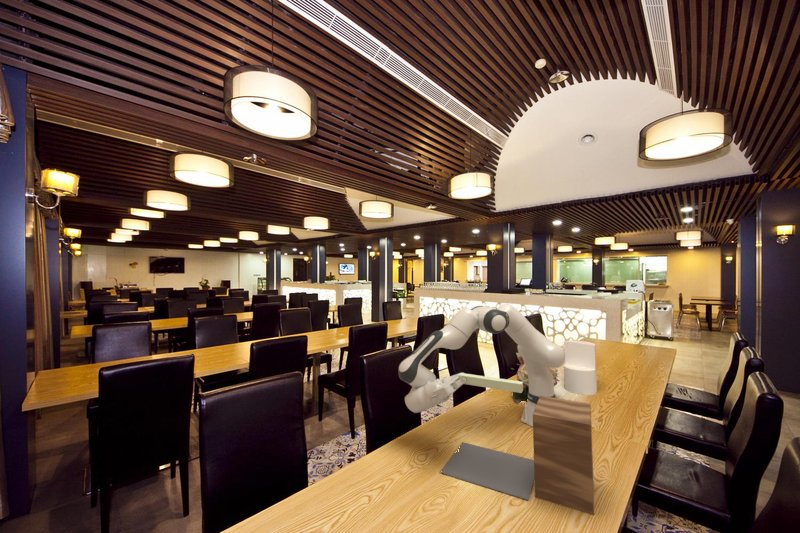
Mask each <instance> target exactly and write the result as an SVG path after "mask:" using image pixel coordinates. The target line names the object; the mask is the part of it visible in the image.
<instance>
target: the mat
mask: <svg viewBox="0 0 800 533" xmlns="http://www.w3.org/2000/svg"><path fill="white" fill-rule="evenodd" d="M459 446H460V448H459ZM459 446H458V447H457V448H458V449H459V452H458V450H457V449H456V450H457V452H456V453H454V452H453V453H452V455H451V456H450V458H449V459H448V460H449V461H448V460H447V461H446V463H445V464H444V465H443V466H442V468H441V469H440V471H439V473H440V472H441V471H442V472H441V473H444V474H446V475H445V476H447V475H449V476H448V477H450V476H451V477H452V478H453V477H455V478H454V479H457V480H460V481H463V482H465V483H466V482H467V483H470V484H474V485H476V486H479V487H482V488H485V489H489V490H492V491H495V492H497V493H501V494H505V495H508V496H511V497H515V498H517V499H521V500H524V501H527V502H529V501H530V496H531V493H532V489H533V485H534V484H535V477H534V459H532V458H531V459H530V458H527V457H523V456H520V455H516V454H512V453H507V452H504V451H500V450H496V449H492V448H487V447H483V446H480V445H477V444H476V445H475V444H472V443H467V442H465V441H462V442H461V443H460V444H459ZM441 473H440V474H441ZM444 474H443V475H444Z"/></svg>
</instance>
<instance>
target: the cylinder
mask: <svg viewBox="0 0 800 533" xmlns="http://www.w3.org/2000/svg"><path fill="white" fill-rule="evenodd" d="M563 345H564V349H563V350H564V352H565V361H564V363H563V377H564V378H563V380H564V381H563V382H564V390H566V391H567V392H569V393H572V394H575V395H576V394H577V395H582V396H593V395H596V394H597V393H598V385H597V384H598V383H597V382H598V380H597V379H598V378H597V358H596V357H597V355H596V344H595V343H593V342H592V341H591V342H590V341H586V340H565V341H563Z"/></svg>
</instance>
